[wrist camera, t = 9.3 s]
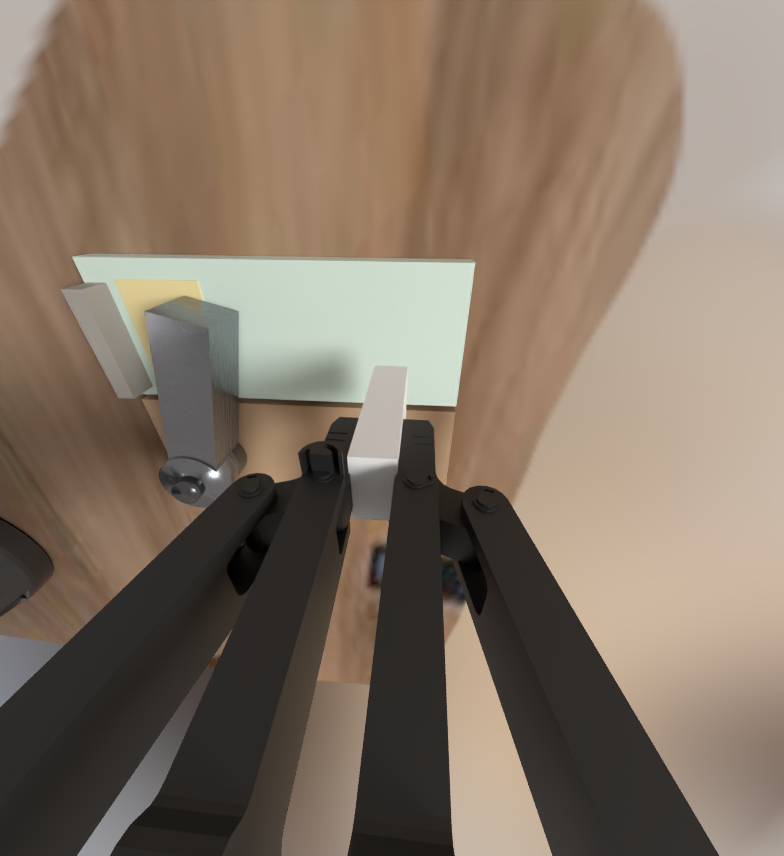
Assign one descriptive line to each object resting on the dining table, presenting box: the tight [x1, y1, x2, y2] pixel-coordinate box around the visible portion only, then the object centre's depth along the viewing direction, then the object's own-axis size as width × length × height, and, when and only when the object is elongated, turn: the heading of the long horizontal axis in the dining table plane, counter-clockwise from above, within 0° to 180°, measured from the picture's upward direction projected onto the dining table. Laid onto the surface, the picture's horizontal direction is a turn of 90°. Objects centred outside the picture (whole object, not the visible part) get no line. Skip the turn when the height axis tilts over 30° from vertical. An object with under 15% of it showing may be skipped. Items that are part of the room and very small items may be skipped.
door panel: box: [61, 254, 475, 406], centre depth 18 cm, size 20×8×3 cm, turn 90°
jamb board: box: [142, 394, 455, 485], centre depth 23 cm, size 20×8×1 cm, turn 90°
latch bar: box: [144, 295, 247, 508], centre depth 19 cm, size 12×4×4 cm, turn 165°
